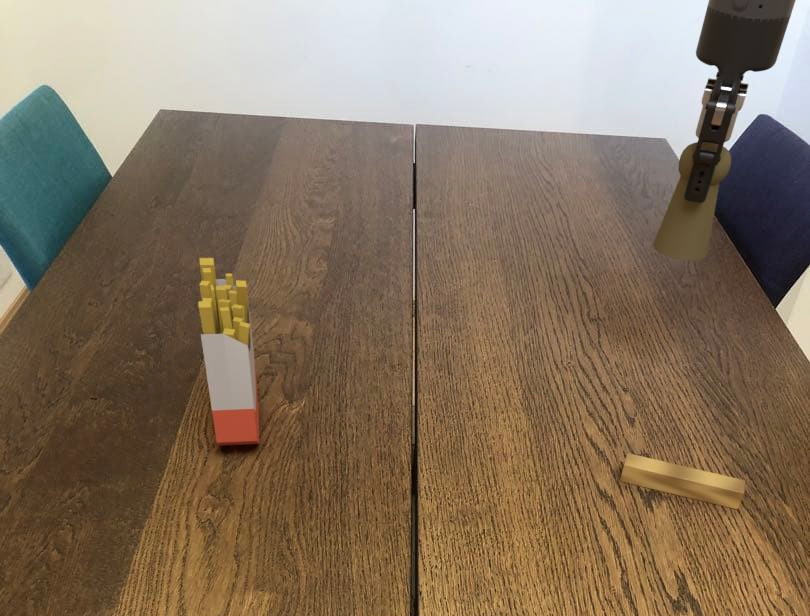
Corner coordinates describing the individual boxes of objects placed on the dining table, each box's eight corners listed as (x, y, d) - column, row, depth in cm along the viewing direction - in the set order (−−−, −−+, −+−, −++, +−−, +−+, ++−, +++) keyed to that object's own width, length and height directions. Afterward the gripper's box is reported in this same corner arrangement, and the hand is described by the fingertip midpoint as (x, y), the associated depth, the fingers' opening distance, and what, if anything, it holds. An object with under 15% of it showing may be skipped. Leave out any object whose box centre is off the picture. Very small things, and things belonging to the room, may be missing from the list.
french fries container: (262, 400, 93) (247, 248, 81) (263, 459, 86) (247, 301, 73) (221, 402, 93) (200, 249, 80) (218, 461, 85) (195, 302, 73)
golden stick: (738, 496, 84) (745, 480, 83) (737, 509, 83) (744, 493, 81) (622, 469, 87) (627, 452, 85) (619, 481, 85) (624, 464, 84)
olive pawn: (690, 265, 89) (722, 160, 81) (642, 247, 92) (669, 144, 84) (717, 249, 92) (750, 147, 84) (670, 232, 95) (697, 131, 87)
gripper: (790, 26, 70) (727, 222, 82) (793, -4, 80) (737, 175, 92) (701, 15, 72) (652, 209, 83) (715, -13, 81) (669, 163, 93)
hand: (697, 190), depth 87 cm, fingers closed on olive pawn, 5 cm apart
